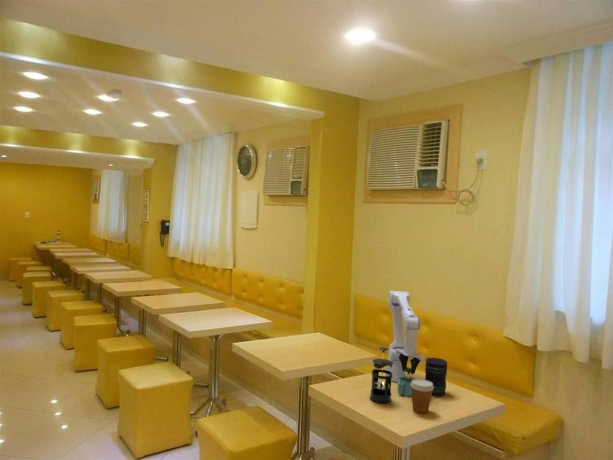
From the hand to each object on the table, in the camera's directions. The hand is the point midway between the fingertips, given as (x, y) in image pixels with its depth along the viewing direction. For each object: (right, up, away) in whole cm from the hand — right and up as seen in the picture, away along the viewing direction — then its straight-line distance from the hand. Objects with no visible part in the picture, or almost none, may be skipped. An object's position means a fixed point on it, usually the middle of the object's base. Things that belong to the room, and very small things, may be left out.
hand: (408, 372), depth 212 cm
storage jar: (+13, -10, +2) cm, 17 cm away
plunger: (0, -7, 0) cm, 7 cm away
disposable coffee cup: (+1, -10, -20) cm, 22 cm away
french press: (-15, -9, -9) cm, 20 cm away
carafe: (-1, -10, 0) cm, 10 cm away
